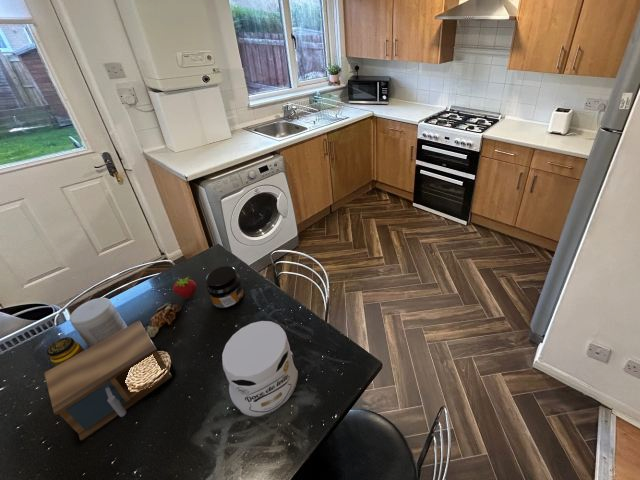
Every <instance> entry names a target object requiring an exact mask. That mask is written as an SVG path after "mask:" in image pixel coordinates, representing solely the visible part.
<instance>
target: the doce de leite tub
mask: <svg viewBox="0 0 640 480" xmlns="http://www.w3.org/2000/svg"><path fill="white" fill-rule="evenodd" d="M221 358H222V359H221V360H222V369H223V372H224V374H225V376H226V377H225V378H226V379H227V381H228V393H229V396H230V397H229V398H230V400H231V402H232V404H233V405H234V406H235V408H237V410H238V411H239V412H240V413H242V414H244V415H246V416H249V417H263V416H267V415H269V414H272V413H274V412H275V411H277V410H278V409H280V408H281V407H282V406H283V405H284V404H285V403H286V402H287V401H288V400H289V399H290V397H291V396H292V395H293V393H294V391H295V389H296V386H297V383H298V377H299V369H298V363H297V360H296V359H297V358H296V357H295V355H294V354H293V352H292V351H291V348H290V343H289V341H288V337H287V334H286V331H285V330H284V329H283V328H282V327H281V325H280V324H278V323H275V322H273V321H269V320H267V321H266V320H260V321H259V320H258V321H256V322H255V321H254V322H251V323H249V324H247V325H245V326H243V327H241V328H240V329H239V330H237V331H236V332H235V333H233V334H232V336H231V337H230V338H229V339H228V341H227V342H226V344H225V346H224V347H223V352H222V354H221Z"/></svg>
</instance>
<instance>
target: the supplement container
mask: <svg viewBox="0 0 640 480" xmlns="http://www.w3.org/2000/svg"><path fill="white" fill-rule="evenodd" d="M237 272H238V271H237V269H236V268H235V267H234V266H231V265H223V266H219V267H217V268H214V269H213V270H212V271H210V272H209V273H208V274H207V276H206V277H205V283H206V291H207V293H208V294H209V297H210V300H211V304H212V306H213V307H214V308H215V309H217V310H221V311H226V310H231V309H233V308H234V307H236V306H238V305H239V304H240V303H241V302H242V300H243V299H244V296H245V291H244V289H243V285H242V282H241V277H240V275H239V274H238V273H237Z"/></svg>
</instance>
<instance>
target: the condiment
mask: <svg viewBox="0 0 640 480" xmlns="http://www.w3.org/2000/svg"><path fill="white" fill-rule="evenodd" d="M85 350H86V349H84V348H83V346H82V345H81V343H79V342H77V341H76V340H74V338H73V337H70V336H66V337H62V338H59V339H57V340H56V341H54V342H52V344H51V345H49V347H48V348H47V350H46V354H47V355H48V356H49V359H50V362H51V363H52V364H53V365H54V367H56V366H57V365H59V364H61V363H63V362H65V361H67V360H68V359H70V358H72V357H74V356H76V355H77V354H79V353H81V352H83V351H85Z"/></svg>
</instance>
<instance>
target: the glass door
mask: <svg viewBox="0 0 640 480" xmlns="http://www.w3.org/2000/svg"><path fill="white" fill-rule="evenodd" d="M129 400H130V397H129V396H128V394H127V393H126V392H125V390H124V389H123V388H122V386H121V385H120V383H119V382H118V381H117V379H116V378H114V379H112V380H111V381H109V382H108V383H106V384H104V385H103V386H101V387H100V388H98V389H96V390H95V391H93V392H92V393H90V394H89V395H87V396H85V397H84V398H82V399H81V400H79V401H77V402H76V403H74V404H73V405H71V406H70V407H68V408H66V411H67V412H68V413H69V414H70V415H71V416H72V417H73V418H74V419H75V420H76V421H77V422H78V423H79V424H80V425H81V426H82V427H83V429H84V430H87V429H88V428H90V427H91V426H92V425H94V424H95V423H97V422H98V421H100V420H101V419H103V418H104V417H106V416H107V415H108V414H110V413H111V412H113V411H114V410H115V411H116V412H117V414H118V415H117V416H119V417H121V418H123V417H125V416H126V414H127V409H126V410H125V409H124V408H123V406H122V405H123V404H124V403H126V402H127V401H129Z"/></svg>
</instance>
